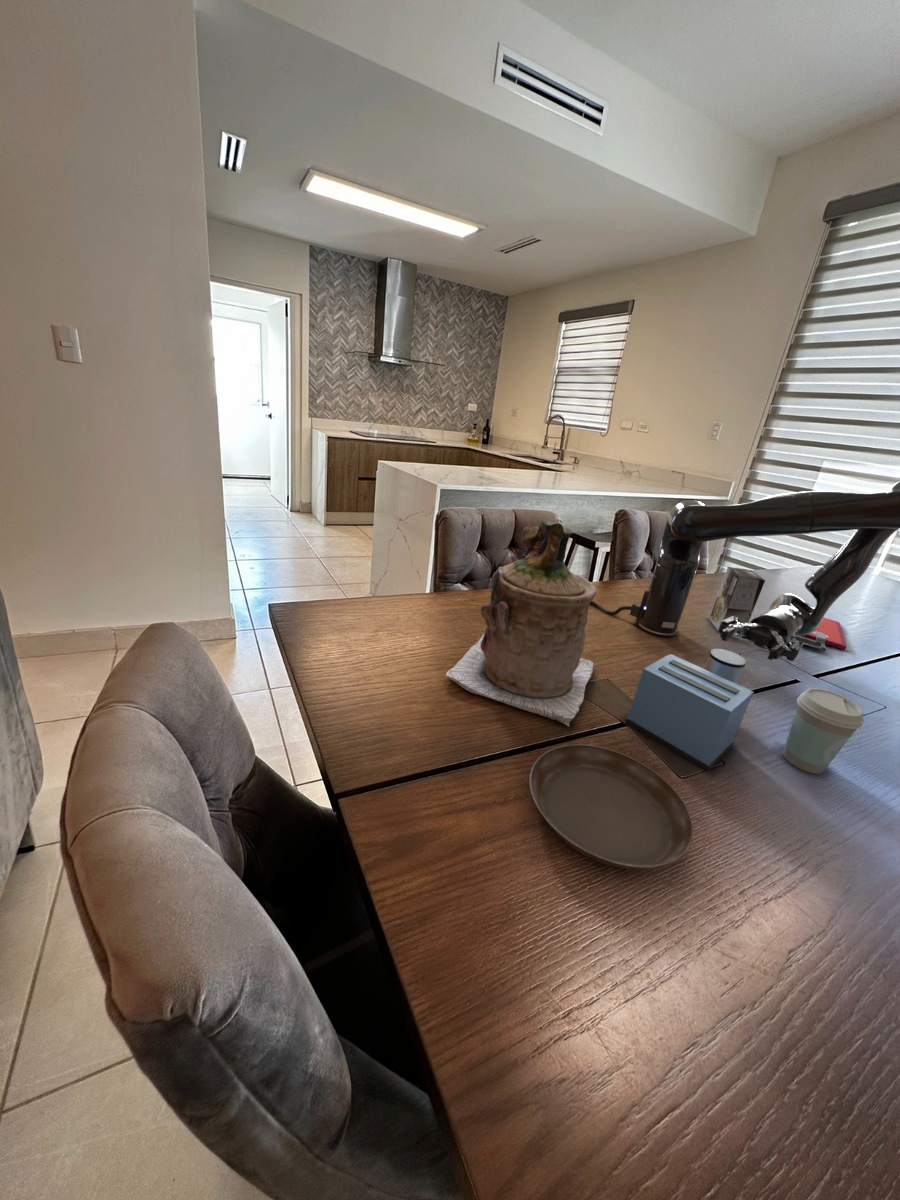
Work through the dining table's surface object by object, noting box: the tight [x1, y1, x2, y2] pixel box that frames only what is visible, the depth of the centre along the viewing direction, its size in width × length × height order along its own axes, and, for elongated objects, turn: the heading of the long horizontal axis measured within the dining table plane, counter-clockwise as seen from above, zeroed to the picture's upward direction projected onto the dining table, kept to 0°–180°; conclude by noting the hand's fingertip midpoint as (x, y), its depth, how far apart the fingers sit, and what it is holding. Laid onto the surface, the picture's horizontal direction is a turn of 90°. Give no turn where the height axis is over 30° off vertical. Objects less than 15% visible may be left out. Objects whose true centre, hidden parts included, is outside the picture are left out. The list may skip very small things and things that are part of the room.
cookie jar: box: [445, 519, 598, 727], centre depth 87 cm, size 25×25×32 cm
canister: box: [703, 648, 747, 684], centre depth 87 cm, size 6×6×12 cm
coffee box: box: [708, 566, 766, 636], centre depth 126 cm, size 9×6×16 cm
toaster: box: [624, 653, 755, 772], centre depth 80 cm, size 14×11×11 cm
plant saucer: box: [529, 743, 694, 870], centre depth 62 cm, size 21×21×3 cm
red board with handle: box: [790, 617, 848, 651], centre depth 132 cm, size 30×3×15 cm
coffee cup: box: [782, 687, 864, 775], centre depth 76 cm, size 9×8×12 cm
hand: (747, 645), depth 92 cm, fingers open, 8 cm apart
